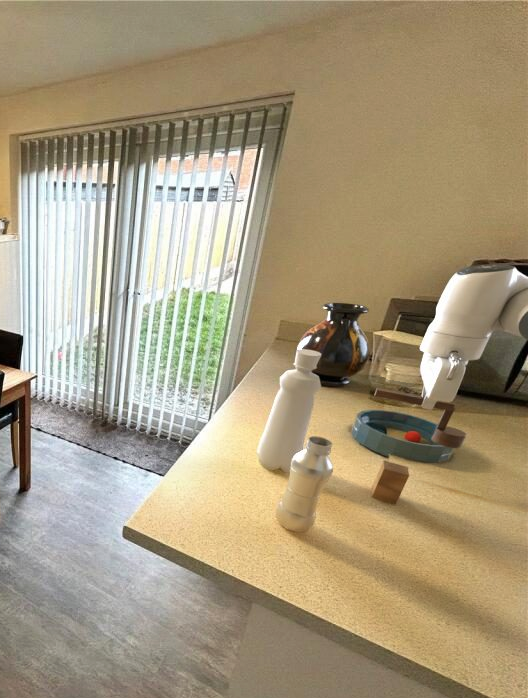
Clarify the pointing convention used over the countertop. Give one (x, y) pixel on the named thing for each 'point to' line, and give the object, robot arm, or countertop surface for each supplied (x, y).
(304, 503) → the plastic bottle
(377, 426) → the blue ring
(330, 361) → the black vase
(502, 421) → the countertop surface
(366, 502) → the countertop surface
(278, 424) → the bottle
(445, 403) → the bent rod on disc
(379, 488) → the wooden toy brick
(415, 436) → the tomato
